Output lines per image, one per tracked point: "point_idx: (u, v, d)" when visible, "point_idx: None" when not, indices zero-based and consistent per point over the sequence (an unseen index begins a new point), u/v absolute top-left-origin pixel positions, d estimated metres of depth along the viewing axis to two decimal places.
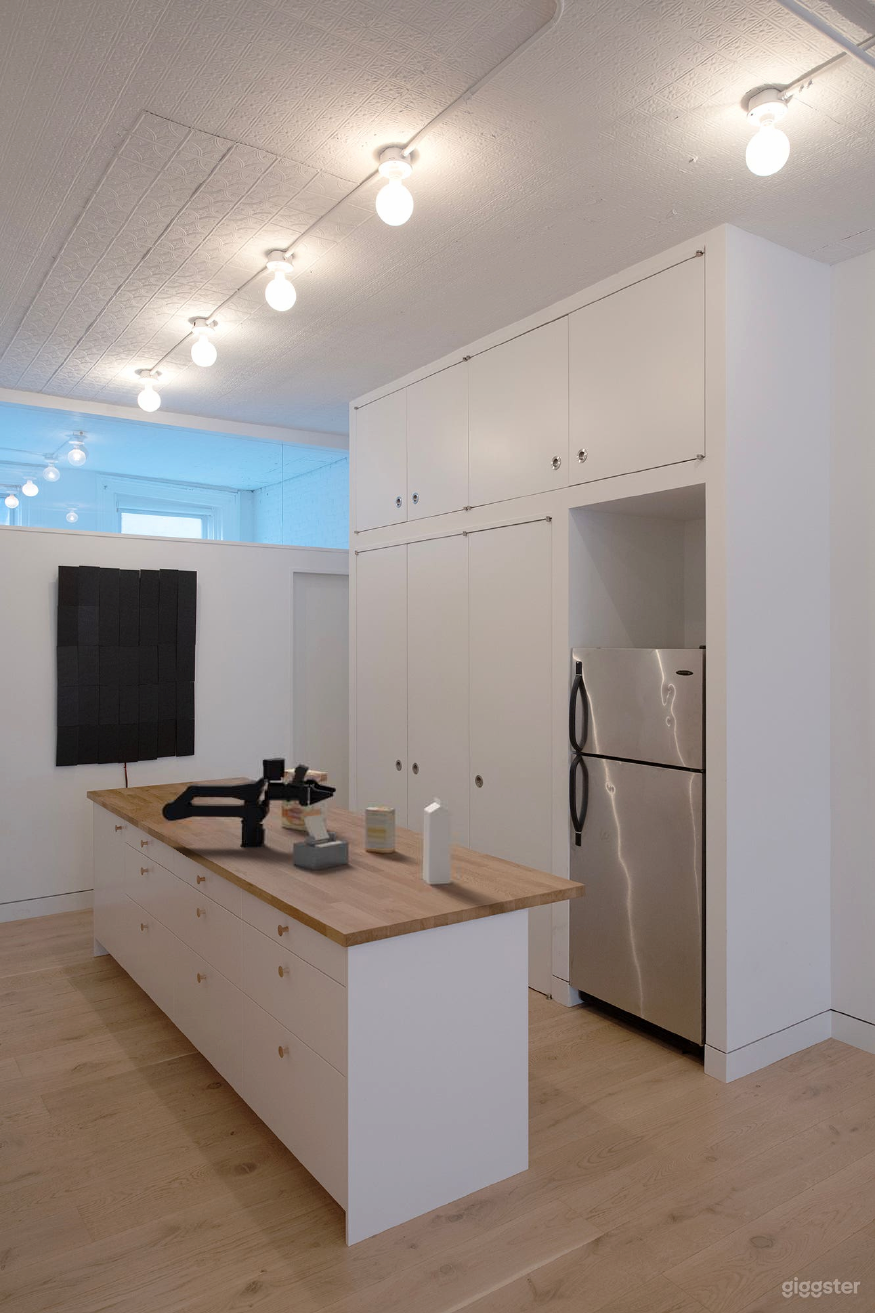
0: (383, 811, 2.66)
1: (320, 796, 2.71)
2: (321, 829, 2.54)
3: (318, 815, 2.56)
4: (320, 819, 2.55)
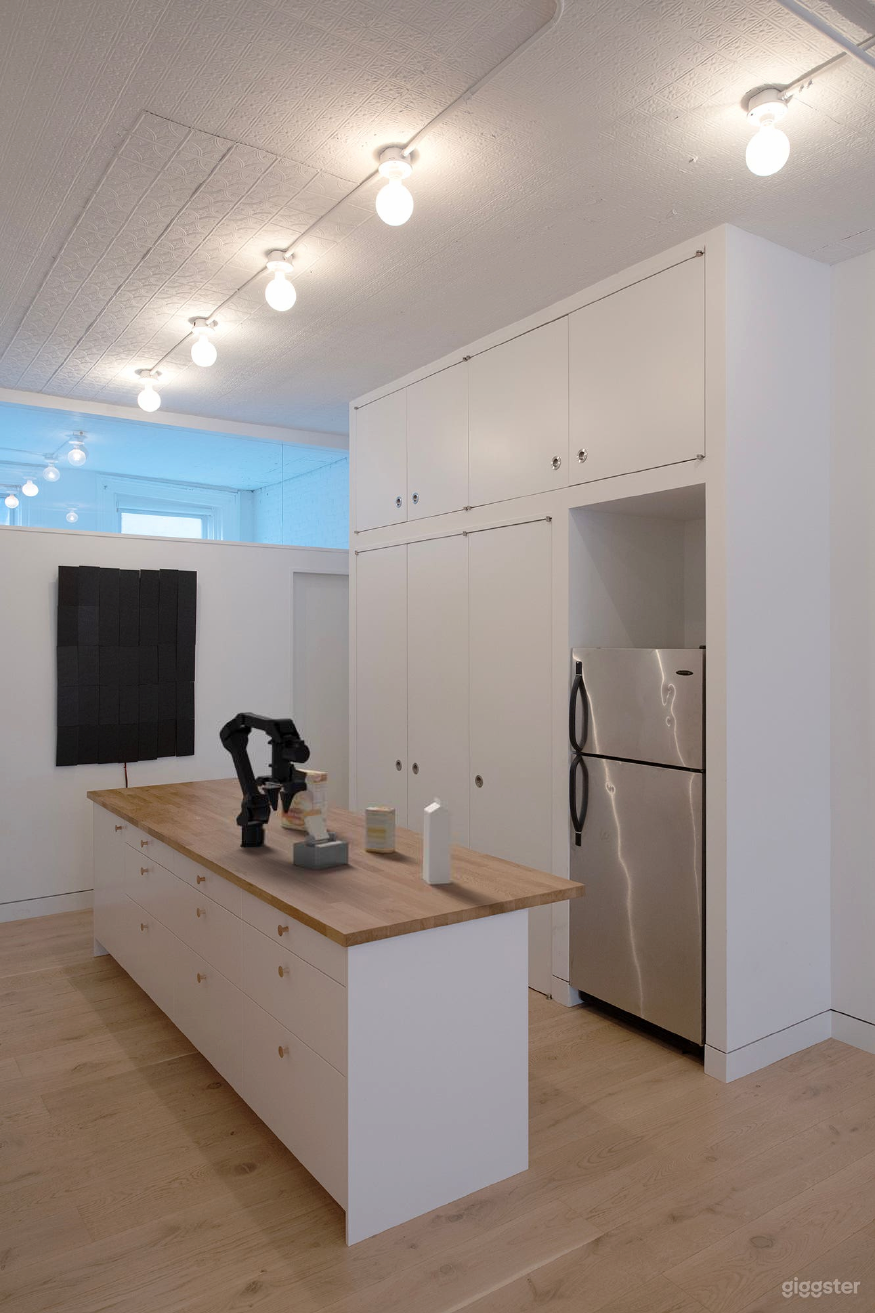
0: (383, 811, 2.66)
1: (287, 801, 2.63)
2: (321, 829, 2.54)
3: (318, 815, 2.56)
4: (320, 819, 2.55)
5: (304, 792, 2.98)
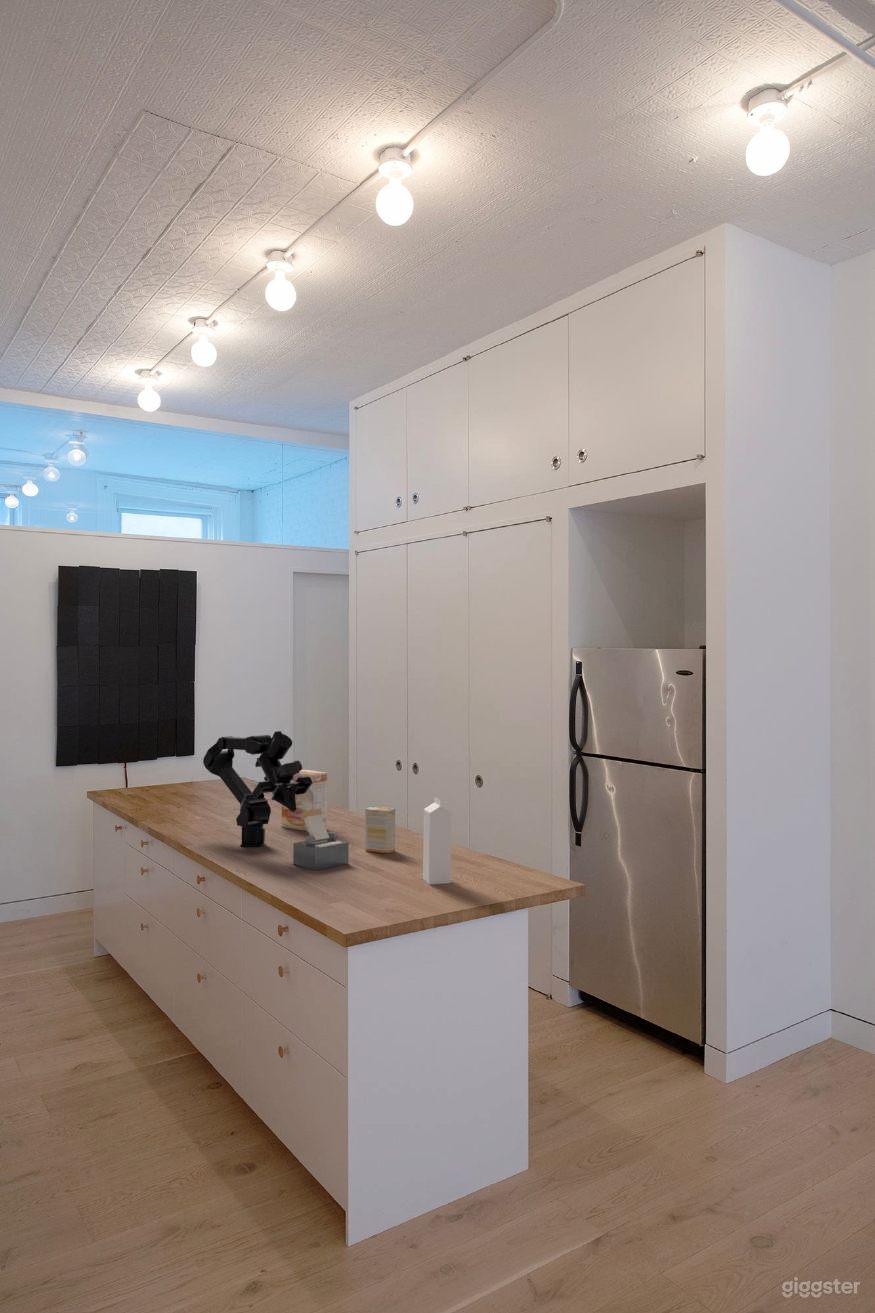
0: (383, 811, 2.66)
1: (284, 801, 2.62)
2: (321, 829, 2.54)
3: (318, 815, 2.56)
4: (320, 819, 2.55)
5: None
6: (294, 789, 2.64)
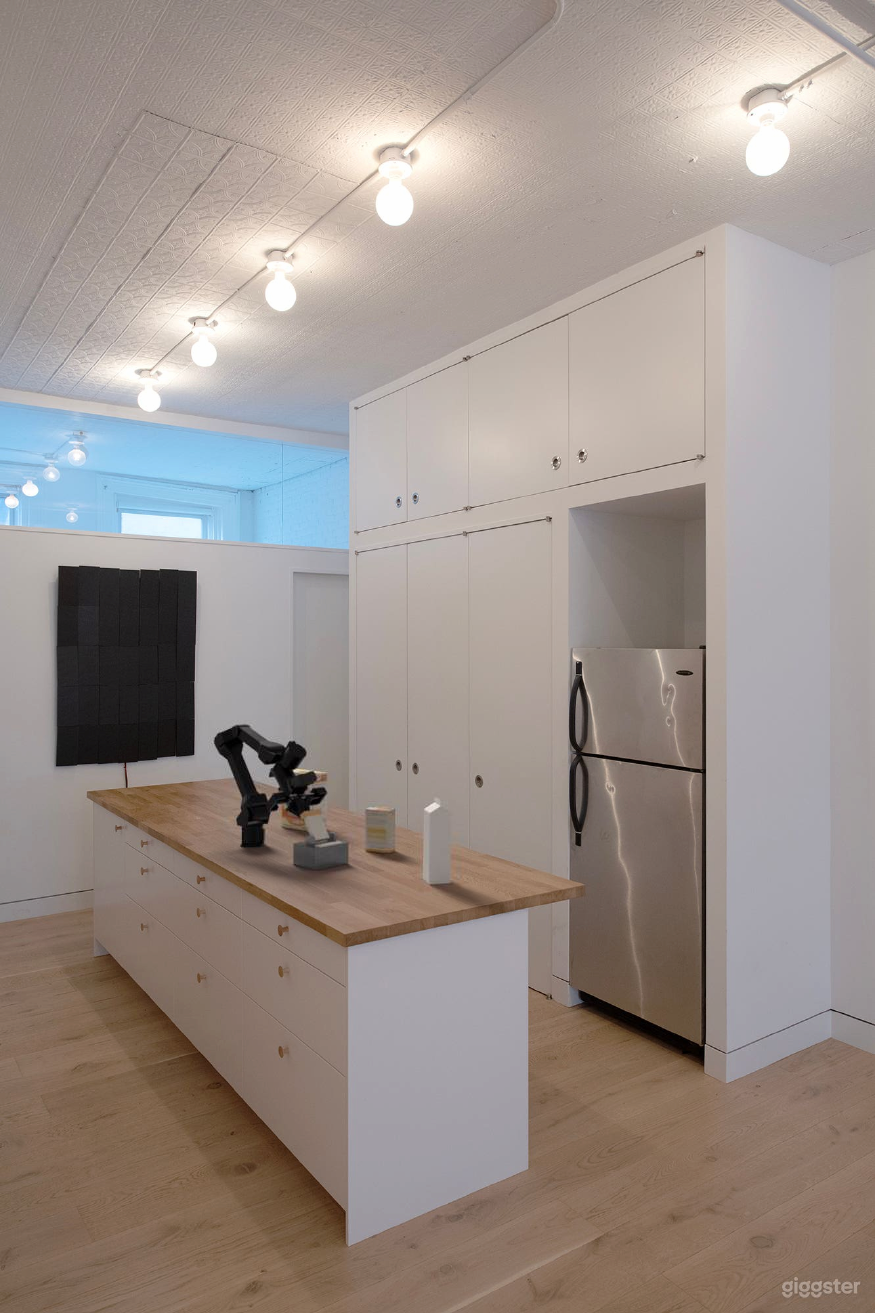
0: (383, 811, 2.66)
1: (299, 813, 2.57)
2: (321, 829, 2.54)
3: (318, 815, 2.56)
4: (320, 819, 2.55)
5: None
6: (309, 800, 2.59)
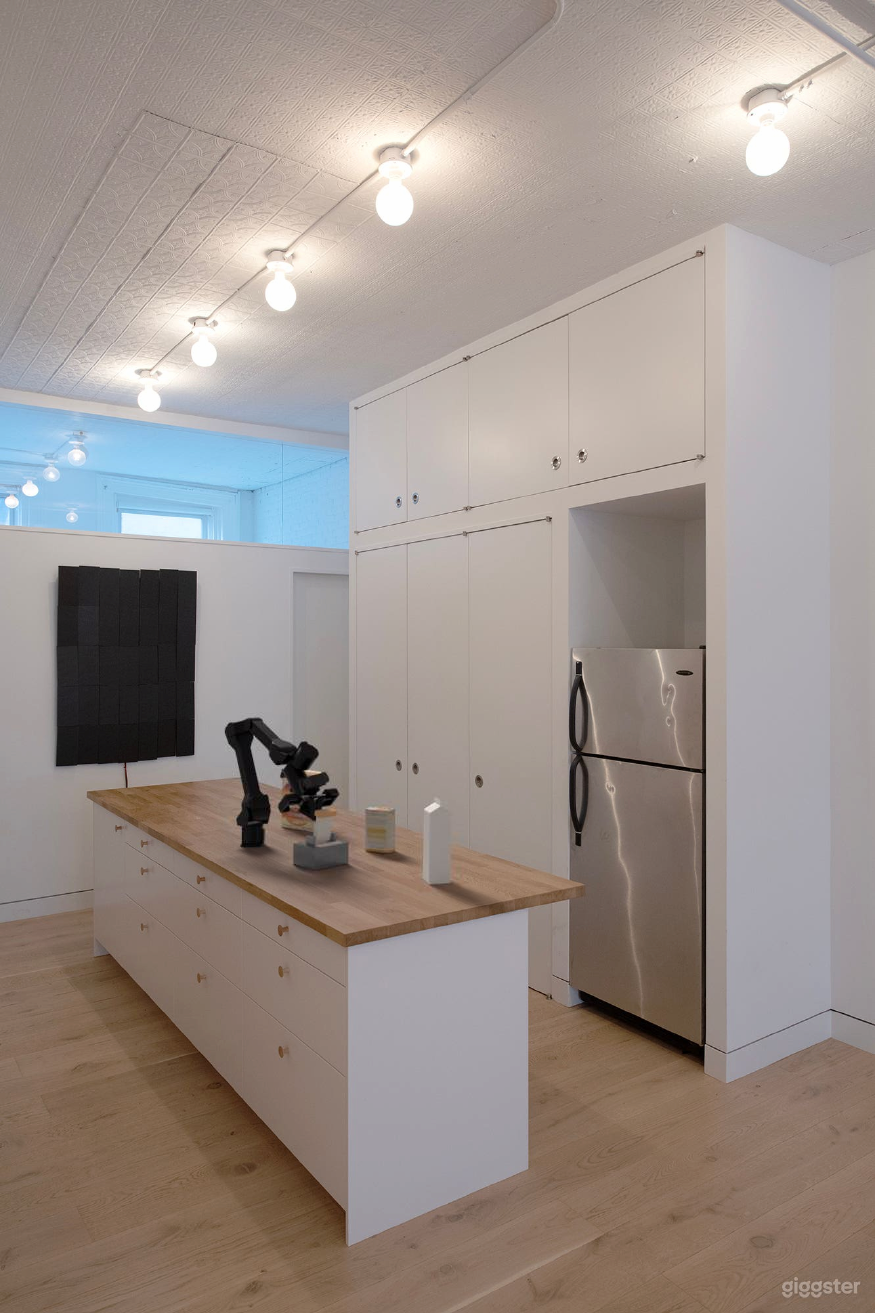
0: (383, 811, 2.66)
1: (311, 814, 2.53)
2: (326, 831, 2.52)
3: (331, 816, 2.52)
4: (331, 821, 2.52)
5: None
6: (321, 801, 2.55)
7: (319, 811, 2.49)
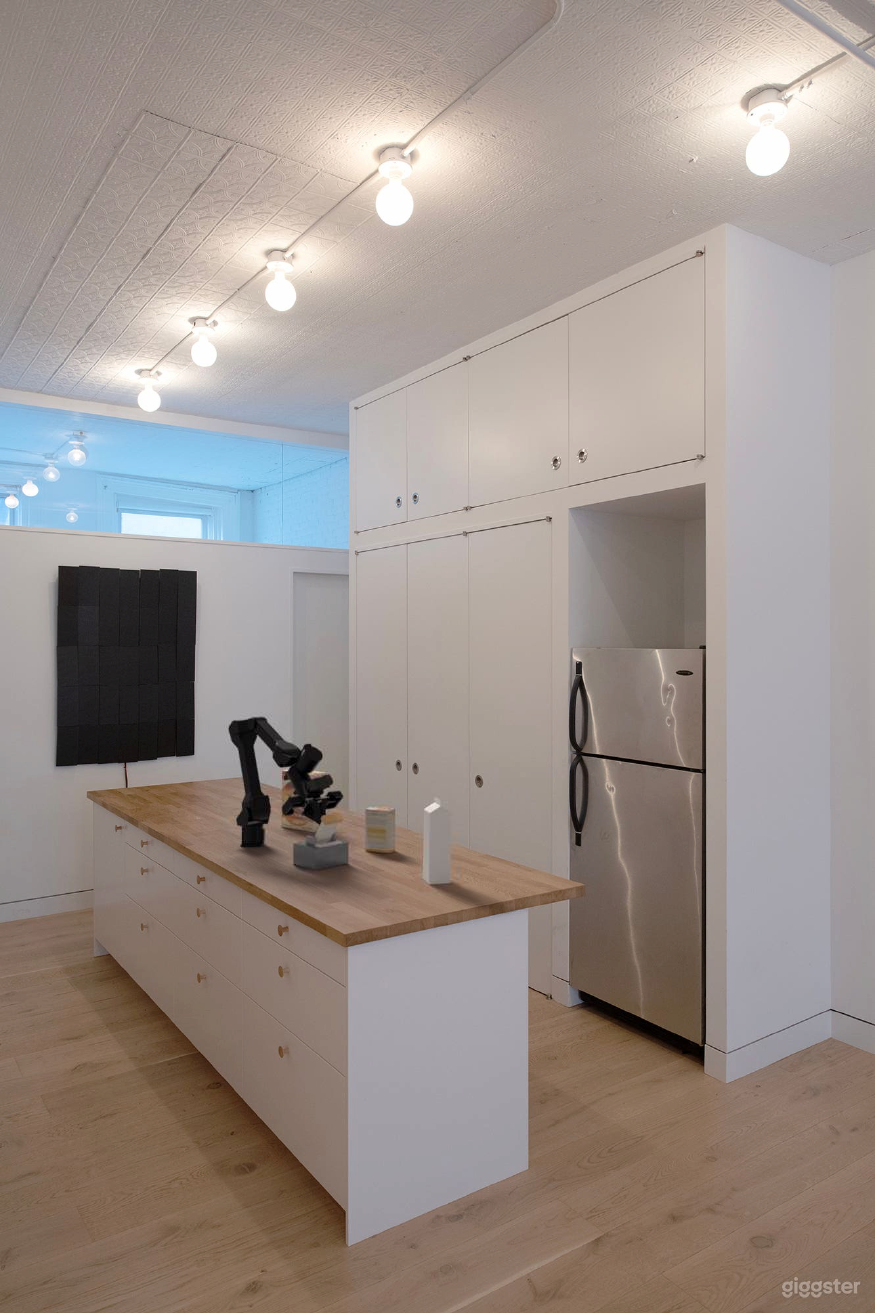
0: (383, 811, 2.66)
1: (315, 817, 2.52)
2: (328, 834, 2.51)
3: (336, 822, 2.50)
4: (335, 826, 2.51)
5: None
6: (325, 804, 2.54)
7: (326, 817, 2.47)
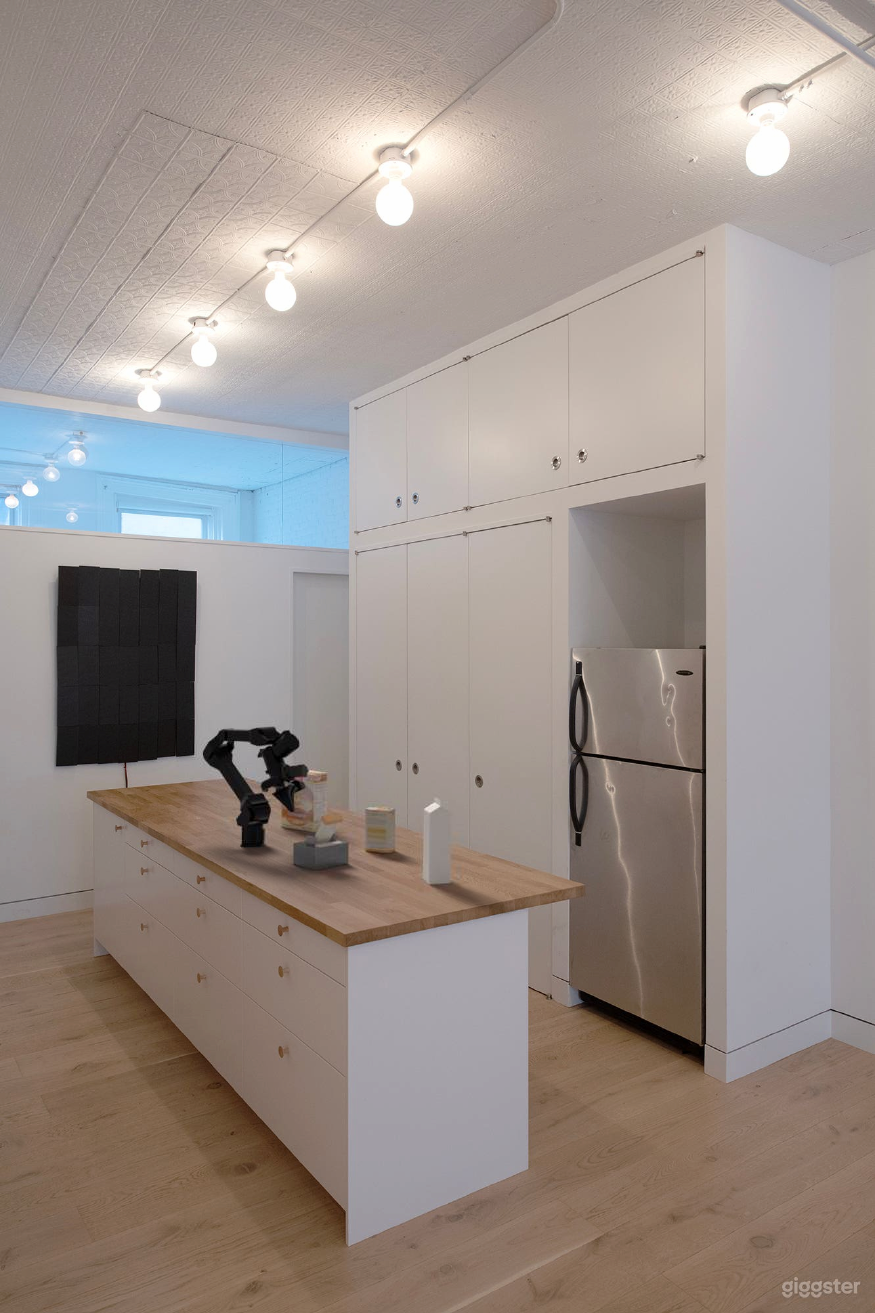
0: (383, 811, 2.66)
1: (284, 800, 2.64)
2: (328, 834, 2.51)
3: (336, 822, 2.50)
4: (335, 826, 2.51)
5: (304, 792, 2.98)
6: (294, 791, 2.67)
7: (326, 817, 2.47)
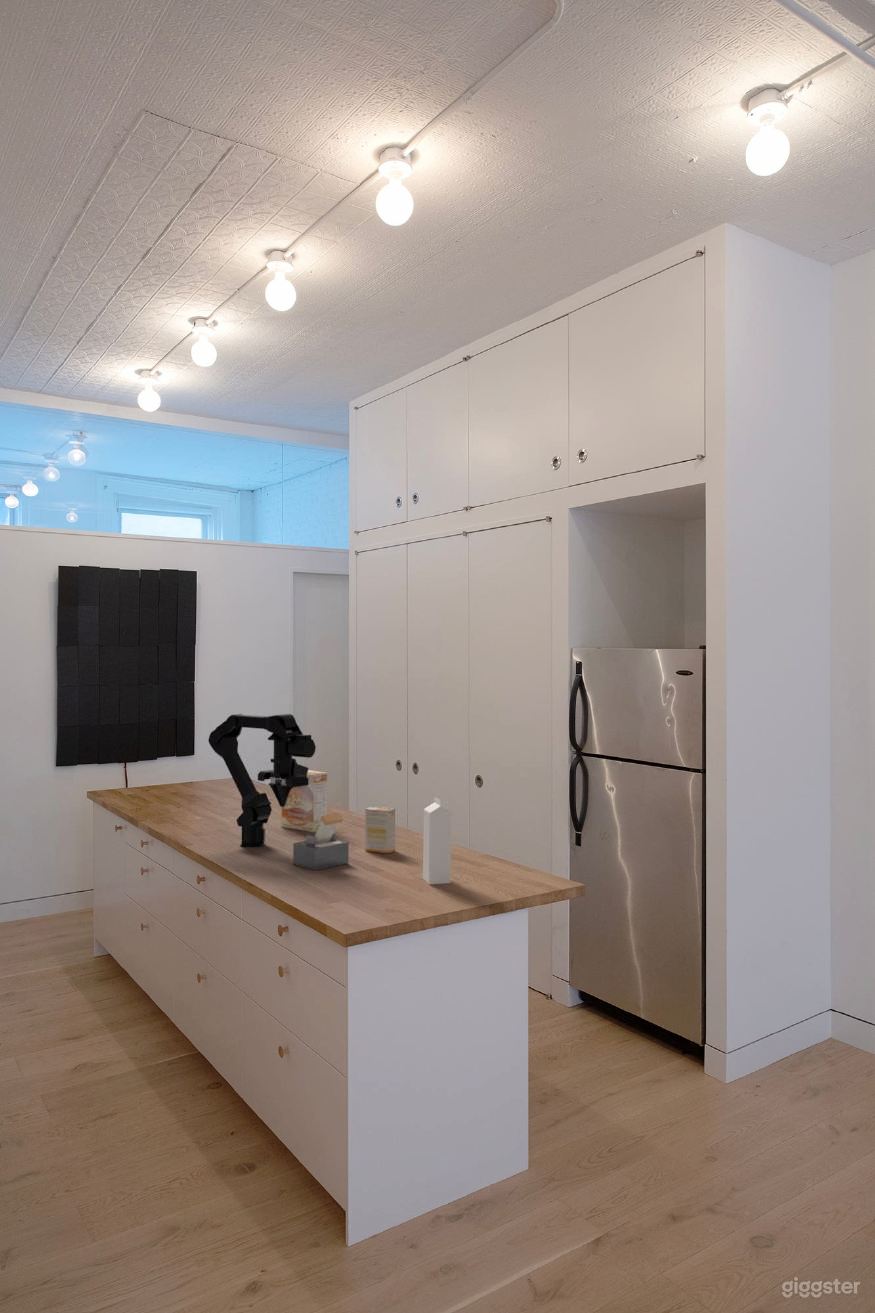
0: (383, 811, 2.66)
1: (284, 794, 2.69)
2: (328, 834, 2.51)
3: (336, 822, 2.50)
4: (335, 826, 2.51)
5: (304, 792, 2.98)
6: None
7: (326, 817, 2.47)
